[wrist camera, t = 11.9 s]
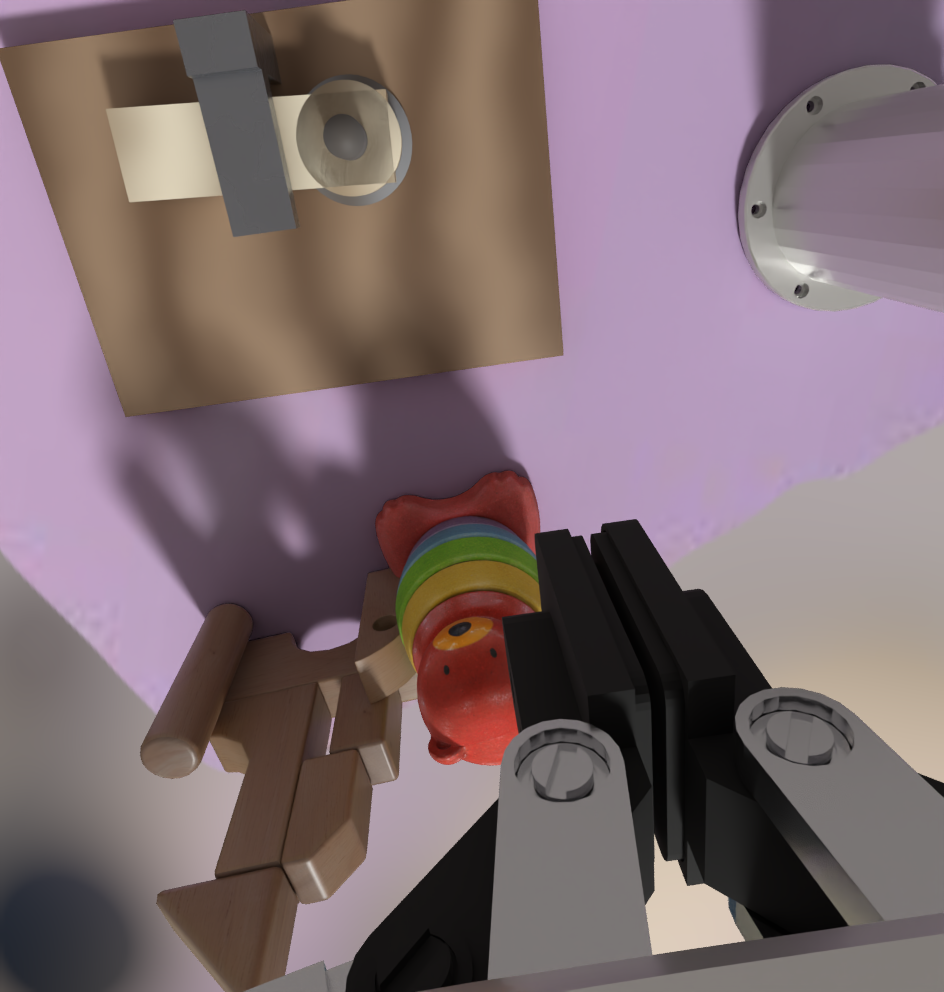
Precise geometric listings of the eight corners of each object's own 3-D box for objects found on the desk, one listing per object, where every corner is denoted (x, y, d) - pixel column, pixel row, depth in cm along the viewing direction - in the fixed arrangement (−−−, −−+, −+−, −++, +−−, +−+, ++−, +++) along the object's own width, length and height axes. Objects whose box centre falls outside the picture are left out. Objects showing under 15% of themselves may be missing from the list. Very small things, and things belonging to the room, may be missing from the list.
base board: (531, -18, 34) (536, -27, 33) (558, 349, 42) (564, 356, 41) (13, 54, 34) (-7, 48, 33) (135, 409, 42) (124, 418, 40)
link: (396, 81, 34) (392, 67, 30) (407, 192, 36) (405, 193, 32) (119, 101, 34) (77, 89, 30) (146, 211, 36) (111, 215, 32)
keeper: (271, 36, 33) (245, 10, 28) (310, 223, 37) (293, 229, 32) (210, 44, 33) (172, 20, 28) (255, 230, 37) (228, 238, 32)
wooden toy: (416, 557, 47) (405, 905, 25) (440, 635, 50) (450, 1012, 27) (200, 606, 48) (-5, 990, 25) (235, 681, 51) (79, 1087, 28)
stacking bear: (527, 461, 45) (590, 617, 29) (556, 589, 49) (625, 787, 33) (367, 502, 45) (340, 679, 29) (409, 626, 50) (407, 840, 33)
